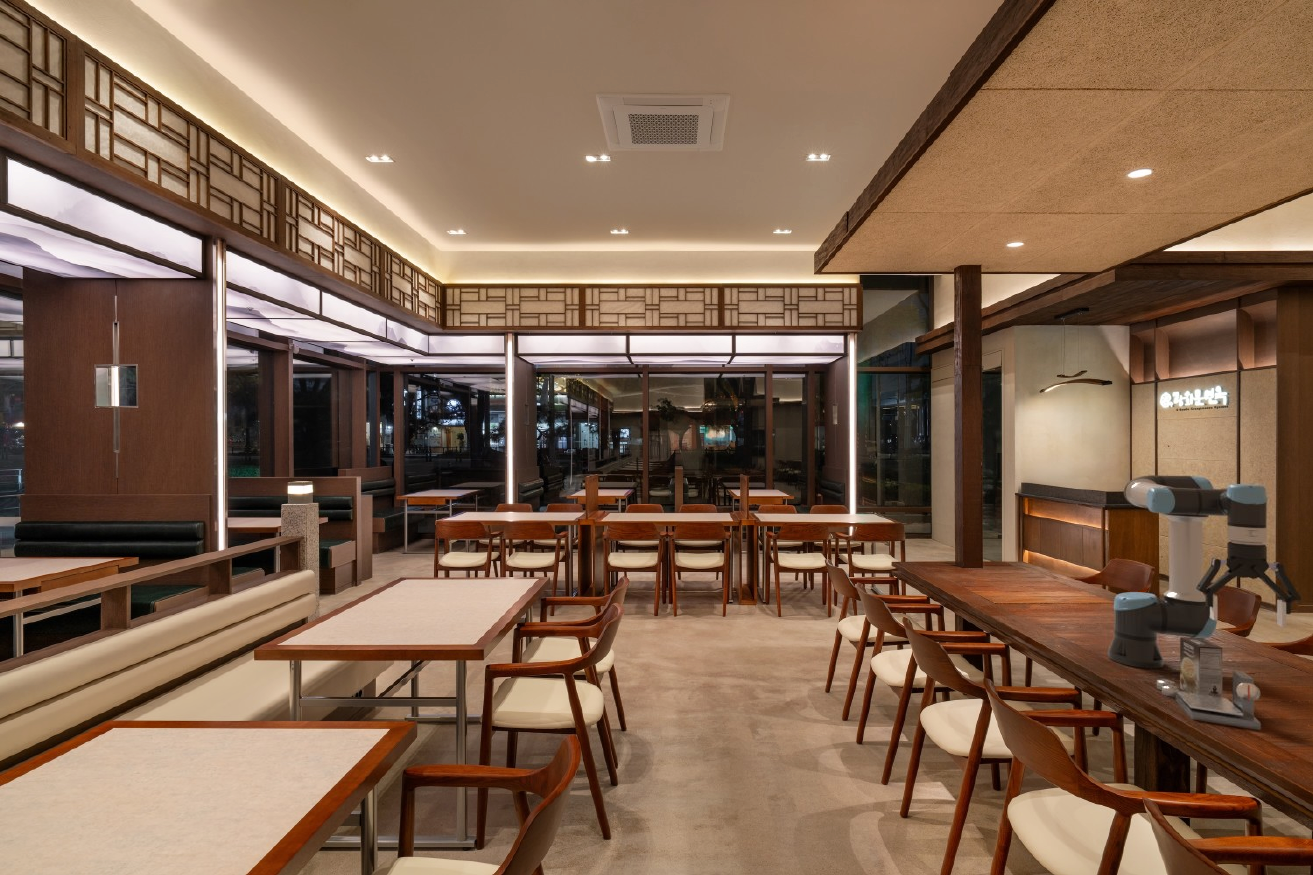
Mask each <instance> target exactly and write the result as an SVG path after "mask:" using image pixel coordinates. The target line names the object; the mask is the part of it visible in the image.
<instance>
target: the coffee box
mask: <svg viewBox="0 0 1313 875" xmlns="http://www.w3.org/2000/svg"><path fill="white" fill-rule="evenodd" d="M1179 637H1180V639H1179V642H1180V643H1179V650H1180V652H1179V686H1180V687H1179V688H1180V689H1181V691H1183V692H1187V693H1194V694H1201V695H1208V696H1215V697H1222V698H1223V647H1221V646H1220V645H1218V644H1216V643H1213V642H1212V641H1209V640H1207V638H1190V637H1184V636H1179Z"/></svg>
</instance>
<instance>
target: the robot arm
mask: <svg viewBox="0 0 1313 875" xmlns="http://www.w3.org/2000/svg"><path fill="white" fill-rule="evenodd" d="M1123 488H1124V489H1123V495H1124V498H1125V500H1126V501H1127V502H1128V503H1129V504H1131V505H1133V506H1134V507H1139V508H1144V509H1148V510H1149V512H1151V513H1154V514H1155V513H1156V514H1163V516H1164V517H1165V518H1167V519H1168V570H1169V571H1168V580H1169V581H1168V586H1169V587H1168V590H1166V591H1165V592H1164V593H1163V598H1158V597H1157V596H1156V595H1155V594H1154V593H1149V592H1141V591H1140V592H1138V591H1130V592H1129V591H1128V592H1122V593H1118V594H1117V595H1116V596H1115V597H1114V601H1113V602H1114V604H1113V611H1114V612H1113V613H1114V614H1113V615H1114V616H1113V618H1114V619H1113V620H1114V621H1113V622H1114V624H1113V625H1114V628H1113V629H1114V631H1113V638H1112V640H1111V643H1110V645H1109V647H1108V649H1107V656H1108V658H1109V659H1110V660H1112V661H1114V662H1116V663H1119V664H1121V665H1126V666H1131V667H1136V668H1141V669H1142V668H1143V669H1152V670H1153V669H1154V670H1155V669H1160V668H1161V669H1162V668H1163V667H1164V666H1165V665H1164V657H1163V654H1162V652H1161V649H1160V647H1159V644H1158V639H1157V638H1158V636H1157V635H1166V636H1167V635H1169V636H1175V637H1189V638H1204V639H1208V638H1211V637H1212V635H1213V634H1214V632H1215V631H1216V628H1217V624H1218V595H1216V593H1217V592H1218V591H1219V590H1220V589H1222V588H1223V587H1224V586H1225V585H1227V584H1228V583H1229V582H1231V581H1232V580H1233V579H1235V578H1237V577H1239V578H1241V579H1242V578H1243V579H1245V578H1249V579H1255V580H1257V579H1258V578H1259V579H1260V580H1261V581H1262V582H1263V583H1264V584H1265V585H1266V586H1267V587H1269V588H1270V589H1271V591H1272V592H1274V593H1275V594H1276V595H1277V596H1278V597H1279V598H1280V599H1277V600H1276V616H1277V618H1276V620H1277V621H1276V625H1277V626H1279V627H1281V628H1287V615H1291V613H1292V607H1291V606H1292V603H1293V602H1295V601H1301V600H1302V597H1301V595H1300V594H1299V592H1298V591H1297V589H1296V588H1295V586H1294V585H1293V583H1292V581H1291V580H1290V578H1289V577H1288V575H1287V574H1286V572H1285V566H1284V564H1283V563H1281V562H1277V561H1275V562H1268V561H1267V560H1268V555H1267V554H1268V553H1267V551H1268V549H1267V548H1268V547H1267V546H1266V543H1267V518H1268V517H1267V514H1268V513H1267V511H1268V509H1267V505H1268V504H1267V503H1268V497H1267V490H1266V487H1265V486H1264V485H1261V484H1248V483H1246V484H1244V483H1242V484H1241V483H1231V484H1229V485H1227V488H1214V485H1213V483H1212V482H1211V481H1210V480H1209V479H1208V478H1206V477H1204V476H1197V475H1156V474H1154V475H1153V474H1152V475H1151V474H1150V475H1143V476H1139V477H1135V478H1133V479H1131V480H1130V481H1128V482H1127V483H1126V485H1125V486H1124V487H1123ZM1210 516H1215V517H1217V516H1218V517H1227V518H1226V521H1227V529H1226V531H1227V532H1226V534H1227V536H1226V539H1227V540H1228V542H1227V553H1226V554H1227V555H1226V556H1227V557H1226V559H1219V558H1216V557H1212V558H1211V564H1210V566H1209V568H1208V569H1207V570H1206V572H1205V573H1203V571H1204V570H1203V568H1204V566H1203V559H1204V557H1203V556H1204V555H1203V553H1204V550H1203V549H1204V548H1203V547H1204V546H1203V523H1204V521H1206V520H1207V519H1208V518H1209V517H1210ZM1224 566H1226V567H1227V568H1228V569H1227V570H1226V571H1224V574H1222V575H1221V576H1220V577H1218V578H1217V580H1216V579H1215V581H1214V582H1213V580H1214V578H1215V577H1216V576H1217V574H1218V572H1220V569H1221V568H1224ZM1269 568H1270V570H1271V571H1273V572H1274V573H1275V575H1276V576H1277V578H1278V580H1279V581H1280V582H1281V584H1282V586H1283V587H1284V590H1286V592H1287V593H1286V592H1285V591H1284V590H1283V589H1282V588H1281V587H1280V586H1278V585H1277V583H1275V582H1274V581H1273V580H1272V579H1271V578H1270V576H1268V574H1266V572H1267V571H1268V569H1269ZM1203 574H1204V575H1203ZM1212 582H1213V583H1212ZM1210 584H1211V585H1210Z"/></svg>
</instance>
